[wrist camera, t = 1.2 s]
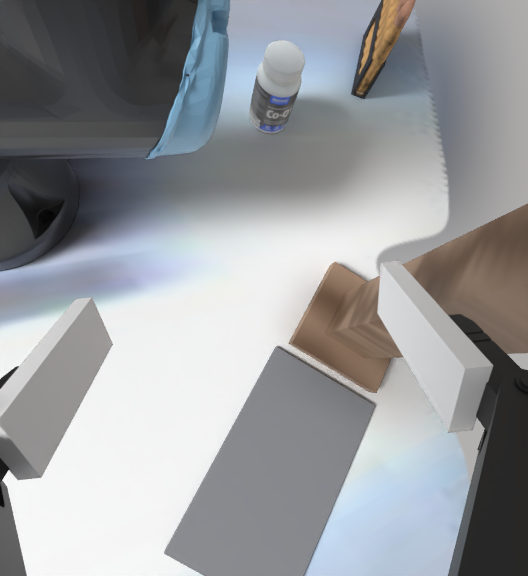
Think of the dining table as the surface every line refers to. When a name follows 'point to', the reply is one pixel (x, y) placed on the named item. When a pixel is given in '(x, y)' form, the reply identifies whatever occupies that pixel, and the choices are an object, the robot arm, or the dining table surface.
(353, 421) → the mat
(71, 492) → the dining table surface
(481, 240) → the stand
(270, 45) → the pill bottle
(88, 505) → the dining table surface
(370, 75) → the ammunition clip
